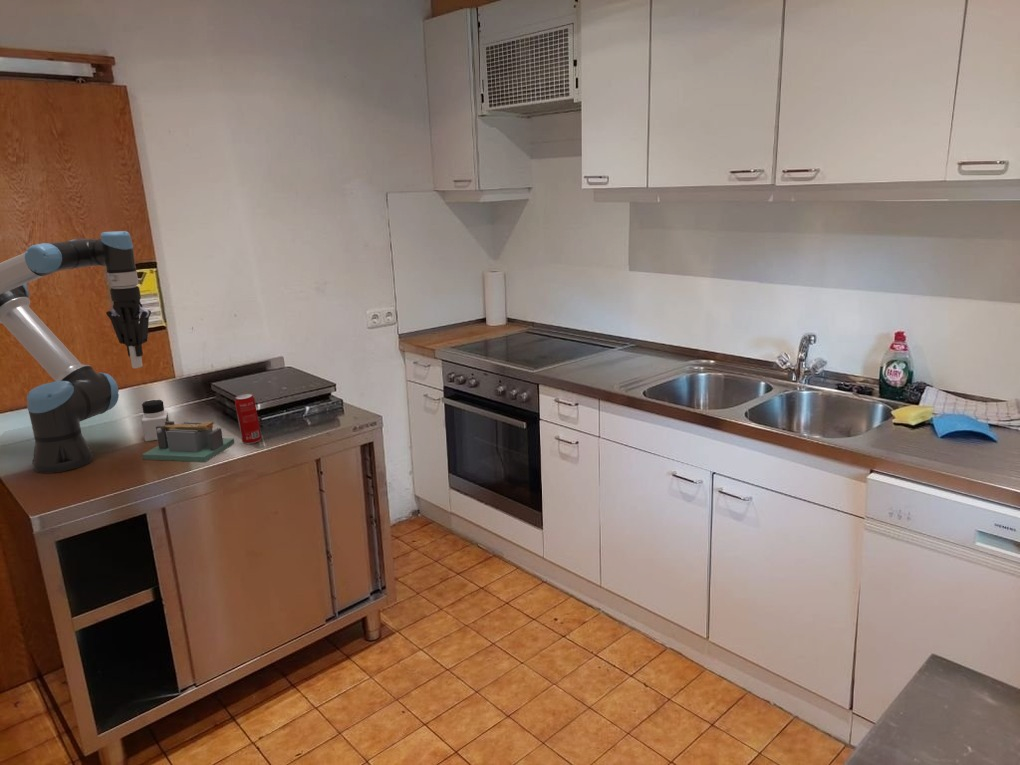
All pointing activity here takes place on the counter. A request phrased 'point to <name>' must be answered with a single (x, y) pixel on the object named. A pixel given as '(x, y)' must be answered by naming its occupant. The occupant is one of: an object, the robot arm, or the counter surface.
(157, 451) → the board
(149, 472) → the counter surface
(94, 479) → the counter surface
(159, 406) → the medicine bottle
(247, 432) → the beverage can
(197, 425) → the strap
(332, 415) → the counter surface
